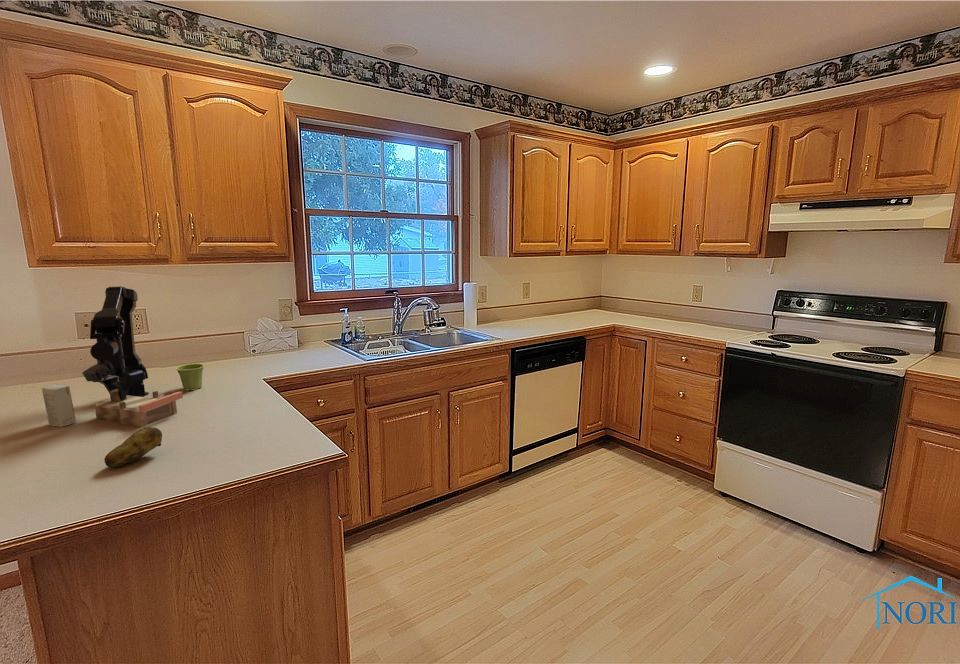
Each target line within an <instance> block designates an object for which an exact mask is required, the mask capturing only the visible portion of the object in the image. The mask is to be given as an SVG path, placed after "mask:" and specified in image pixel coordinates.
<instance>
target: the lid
mask: <svg viewBox="0 0 960 664" xmlns="http://www.w3.org/2000/svg"><path fill="white" fill-rule="evenodd" d="M109 392H110V394H109V397H110V399H107V400H103V401H101V402H97V403H96V404H95V405H96V406H95V407H102V408H110V409H118V410H119V409H120V405H119V403H121V402H125V403H126V408H129V409H137V410H139V405H142V404H145V403H147V402H150V401H153V400H156V399H155V398H153V397H146V396H145V397H144V396H140V397H137V396H128V395H127V396H126V398H125V400H121V399H120V396H119V393H118V389H115V390H112V391H109ZM109 392H108V393H109ZM167 404H169V403H167ZM164 405H166V404H164ZM162 406H163V405H162ZM159 407H161V406H159ZM156 408H158V407H156ZM154 409H155V408H154ZM151 410H152V409H151ZM148 411H150V410H148ZM145 412H147V411H145Z"/></svg>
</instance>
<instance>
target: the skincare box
mask: <svg viewBox="0 0 960 664" xmlns="http://www.w3.org/2000/svg"><path fill="white" fill-rule="evenodd" d="M41 391H42V397H43V401H44V406H45V411H46V416H47V421H48V425H49V426H52V427H60V428H63V427H65V426H69V425H72V424H75V423H77V418H76V413H75V408H74V404H73V398H72V392H71V389H70V385H65V384H64V385H63V384H53V385H48V386H45V387H42V388H41Z"/></svg>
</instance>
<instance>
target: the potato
mask: <svg viewBox="0 0 960 664" xmlns="http://www.w3.org/2000/svg"><path fill="white" fill-rule="evenodd" d="M162 440H163V432H162V431H161V429H159V428H157V427H154V426H153V427H152V426H144V427H141V428H139V429H138V430H136V431H135V432H133V433H132V434H131V435H130V436H128V437H127V438H126V439H125V440H124V441H123V442H122V443H121V444H120V445H118V446H116V447H114V448H113V449H112V450H110V451H109V452H108V453H107V454H106V455H105V456H104V459H103V460H104V464H105V466H106V467H108V468H119V467H122V466H124V465H127V464H129V463H132V462H135V461H137V460H138V459H141V458H142V457H143V456H145V455H147V454H148V453H149V452H151V451H152V450H154V449H156V448H157V447H160V446H161V447H162Z"/></svg>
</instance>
